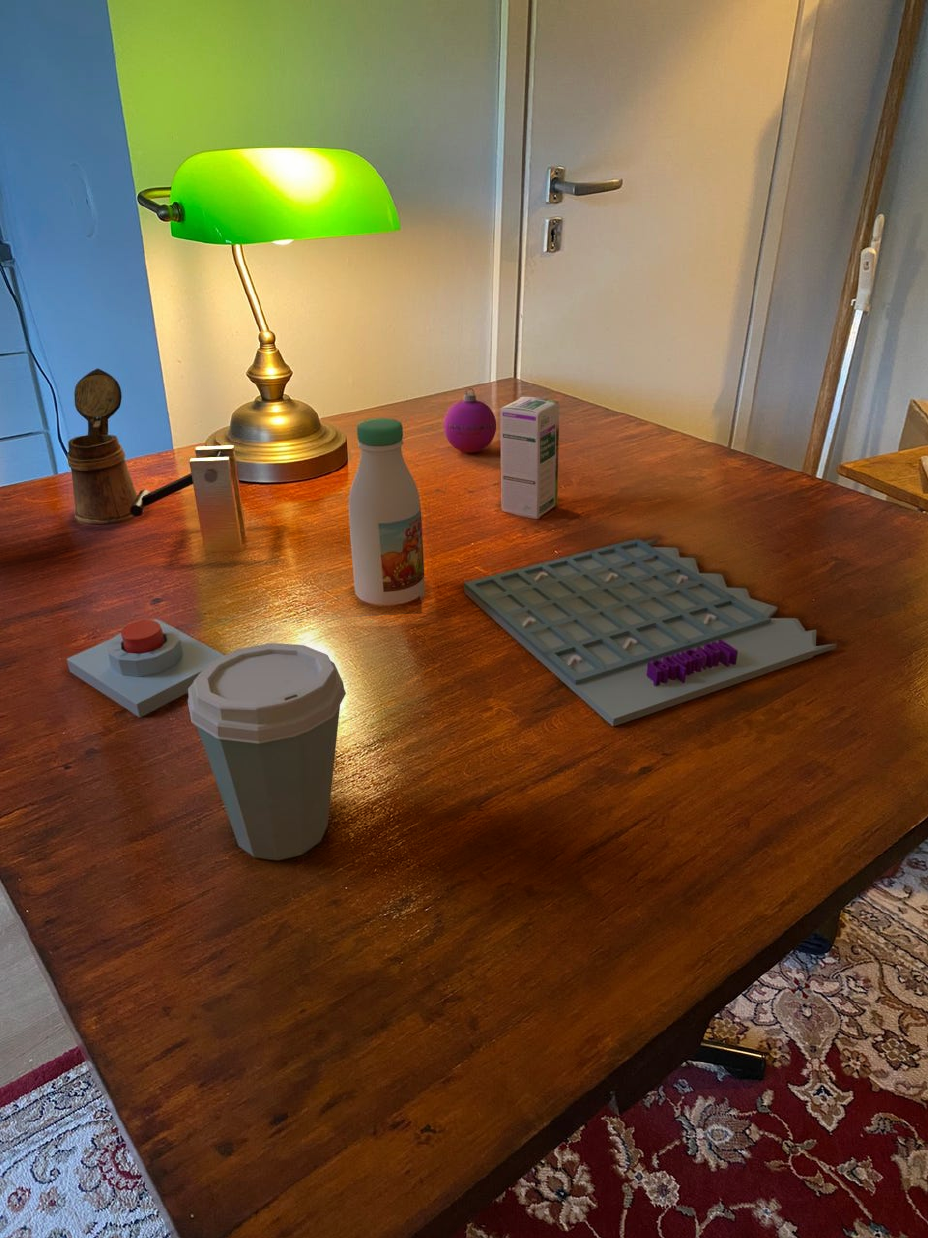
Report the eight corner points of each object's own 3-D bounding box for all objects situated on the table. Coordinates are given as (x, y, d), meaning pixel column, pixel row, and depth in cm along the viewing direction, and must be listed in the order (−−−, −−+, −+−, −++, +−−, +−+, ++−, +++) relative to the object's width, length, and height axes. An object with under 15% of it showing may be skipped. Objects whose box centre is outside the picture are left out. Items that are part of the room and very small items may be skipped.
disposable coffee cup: (193, 824, 70) (158, 659, 62) (318, 771, 75) (300, 613, 68) (249, 910, 62) (216, 735, 55) (384, 845, 68) (371, 677, 60)
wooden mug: (157, 493, 129) (133, 366, 120) (138, 532, 118) (110, 394, 109) (93, 496, 128) (63, 369, 120) (67, 536, 117) (32, 397, 108)
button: (117, 646, 86) (113, 630, 85) (150, 631, 88) (146, 615, 87) (138, 659, 84) (135, 643, 83) (171, 643, 86) (168, 627, 85)
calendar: (659, 543, 113) (661, 525, 112) (838, 648, 91) (842, 627, 89) (463, 593, 102) (463, 574, 101) (611, 727, 80) (613, 704, 79)
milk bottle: (357, 618, 97) (342, 438, 87) (353, 585, 104) (339, 414, 94) (429, 611, 98) (422, 432, 88) (420, 579, 105) (413, 409, 95)
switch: (136, 522, 106) (124, 505, 105) (146, 505, 111) (134, 489, 110) (227, 479, 105) (216, 461, 104) (232, 464, 109) (222, 446, 108)
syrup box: (538, 520, 119) (541, 412, 112) (499, 511, 122) (499, 405, 115) (557, 505, 123) (561, 400, 116) (519, 497, 126) (521, 394, 119)
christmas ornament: (444, 460, 139) (442, 395, 135) (444, 442, 147) (443, 381, 142) (497, 459, 139) (497, 395, 135) (495, 442, 147) (495, 380, 142)
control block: (71, 677, 88) (61, 642, 86) (160, 636, 95) (153, 602, 93) (141, 724, 81) (132, 687, 79) (232, 676, 88) (226, 640, 86)
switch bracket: (170, 573, 107) (150, 470, 101) (185, 538, 116) (167, 441, 110) (272, 568, 108) (259, 465, 102) (280, 533, 117) (268, 437, 110)
